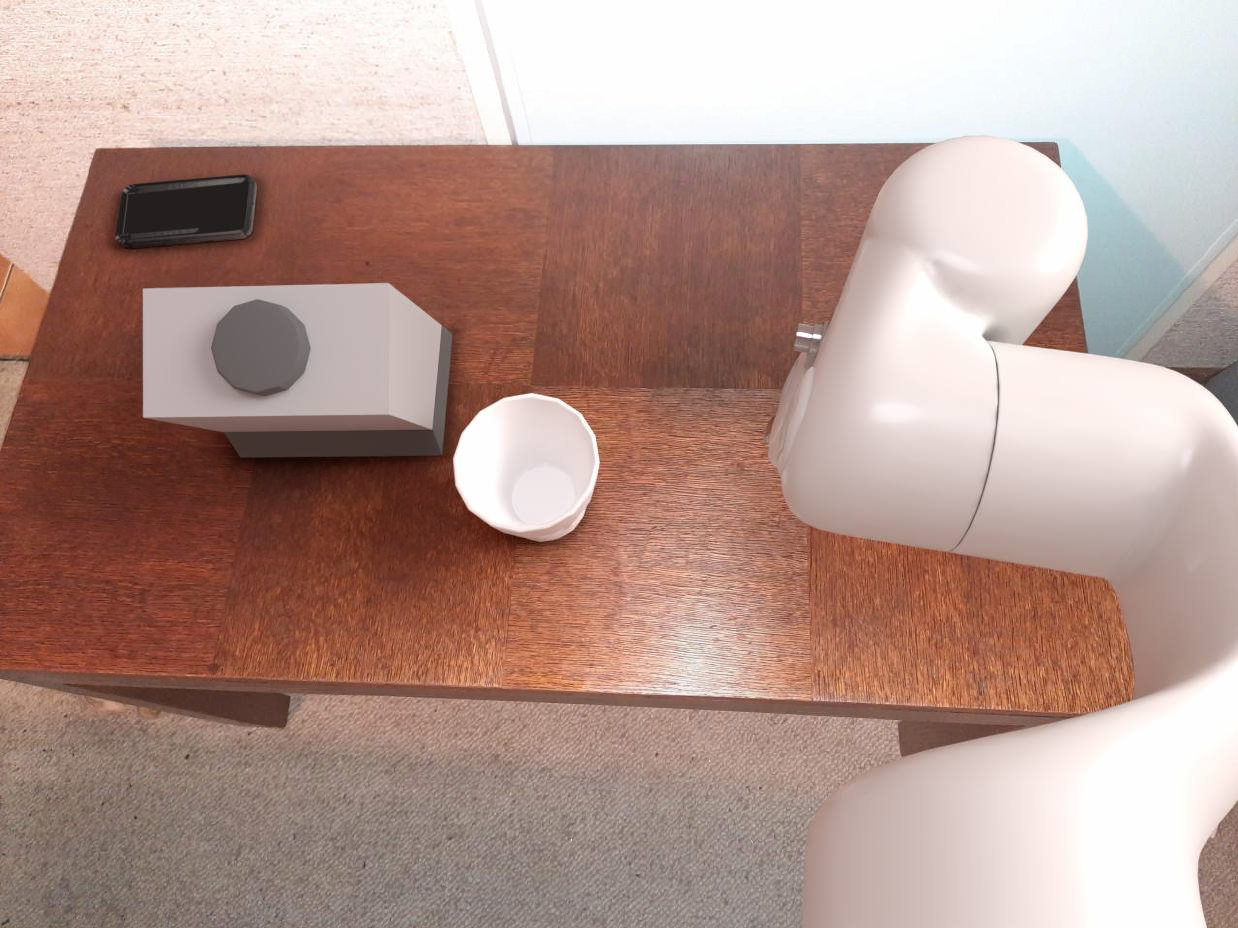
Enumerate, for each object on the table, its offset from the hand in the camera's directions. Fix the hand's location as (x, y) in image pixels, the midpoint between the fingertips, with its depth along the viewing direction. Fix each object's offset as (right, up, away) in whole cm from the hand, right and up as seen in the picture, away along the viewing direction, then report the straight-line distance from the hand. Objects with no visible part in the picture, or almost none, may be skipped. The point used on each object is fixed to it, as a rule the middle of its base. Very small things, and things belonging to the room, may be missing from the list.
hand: (834, 483), depth 58 cm
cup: (-22, -2, +24) cm, 33 cm away
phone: (-63, +29, +38) cm, 79 cm away
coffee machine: (-42, +7, +29) cm, 52 cm away
